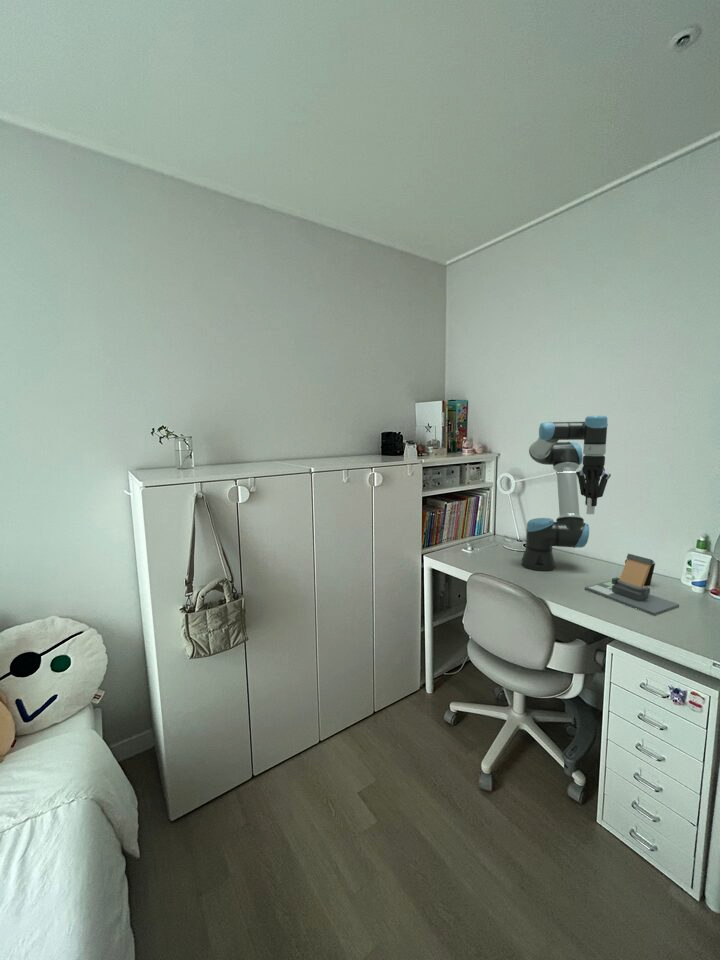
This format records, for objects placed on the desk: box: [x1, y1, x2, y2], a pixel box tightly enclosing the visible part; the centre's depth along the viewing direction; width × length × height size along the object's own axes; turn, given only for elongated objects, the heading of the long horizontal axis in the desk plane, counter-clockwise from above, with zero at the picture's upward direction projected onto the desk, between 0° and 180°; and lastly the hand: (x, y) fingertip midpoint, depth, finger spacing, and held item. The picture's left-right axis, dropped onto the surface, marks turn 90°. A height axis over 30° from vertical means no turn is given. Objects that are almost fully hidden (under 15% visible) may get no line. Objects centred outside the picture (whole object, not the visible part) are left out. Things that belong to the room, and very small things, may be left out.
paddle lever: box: [617, 553, 655, 591], centre depth 152 cm, size 9×2×13 cm, turn 25°
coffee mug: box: [624, 558, 656, 587], centre depth 168 cm, size 12×9×10 cm
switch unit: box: [584, 577, 680, 616], centre depth 152 cm, size 26×16×6 cm, turn 25°
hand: (590, 513), depth 156 cm, fingers closed
